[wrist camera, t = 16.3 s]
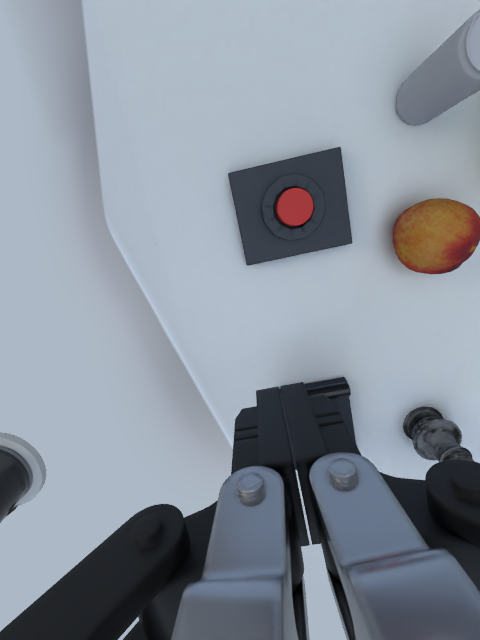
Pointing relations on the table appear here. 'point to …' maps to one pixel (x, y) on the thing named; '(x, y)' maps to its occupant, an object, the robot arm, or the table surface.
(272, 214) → the control block
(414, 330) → the table surface
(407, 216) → the fruit
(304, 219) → the button
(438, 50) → the beverage can
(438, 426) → the black chess piece
